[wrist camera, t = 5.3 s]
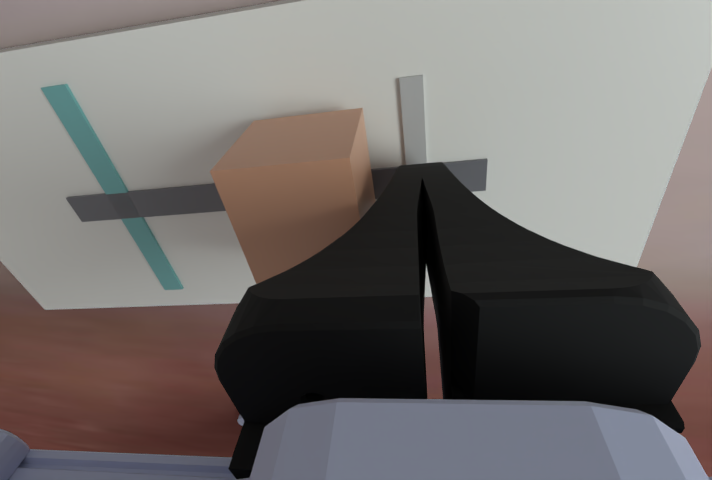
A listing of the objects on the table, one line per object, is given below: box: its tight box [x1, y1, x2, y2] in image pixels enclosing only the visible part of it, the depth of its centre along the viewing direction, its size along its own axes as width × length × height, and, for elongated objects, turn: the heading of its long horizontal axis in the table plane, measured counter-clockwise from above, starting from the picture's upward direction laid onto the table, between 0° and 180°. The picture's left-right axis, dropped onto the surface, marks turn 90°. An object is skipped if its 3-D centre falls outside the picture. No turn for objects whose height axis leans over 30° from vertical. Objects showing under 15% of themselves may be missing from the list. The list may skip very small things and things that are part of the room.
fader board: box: [0, 0, 712, 310], centre depth 13 cm, size 24×10×2 cm, turn 99°
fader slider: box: [210, 108, 375, 284], centre depth 10 cm, size 3×5×3 cm, turn 9°
